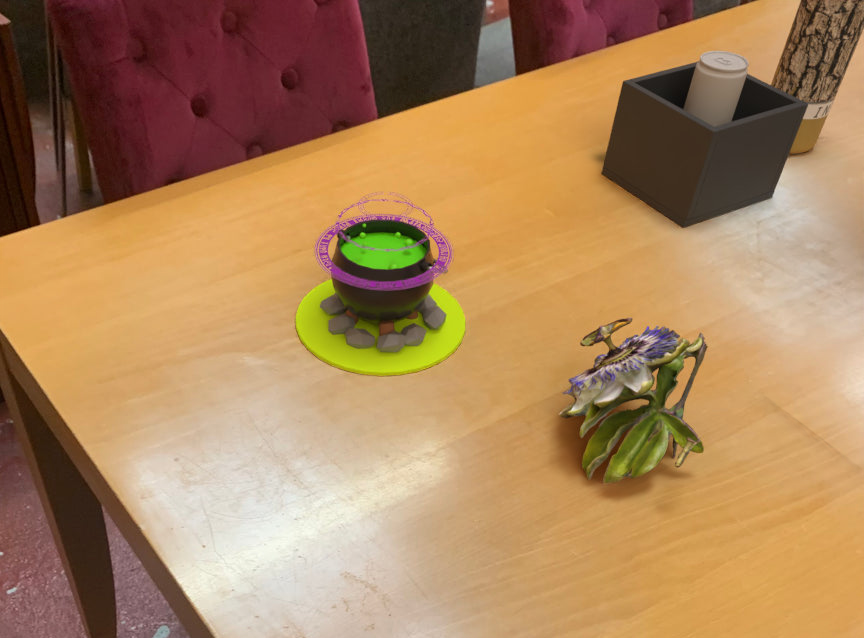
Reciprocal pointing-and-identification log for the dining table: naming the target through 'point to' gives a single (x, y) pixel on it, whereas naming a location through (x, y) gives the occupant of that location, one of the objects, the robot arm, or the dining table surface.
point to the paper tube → (818, 60)
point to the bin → (699, 146)
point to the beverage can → (716, 86)
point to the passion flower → (631, 380)
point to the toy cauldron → (381, 299)
